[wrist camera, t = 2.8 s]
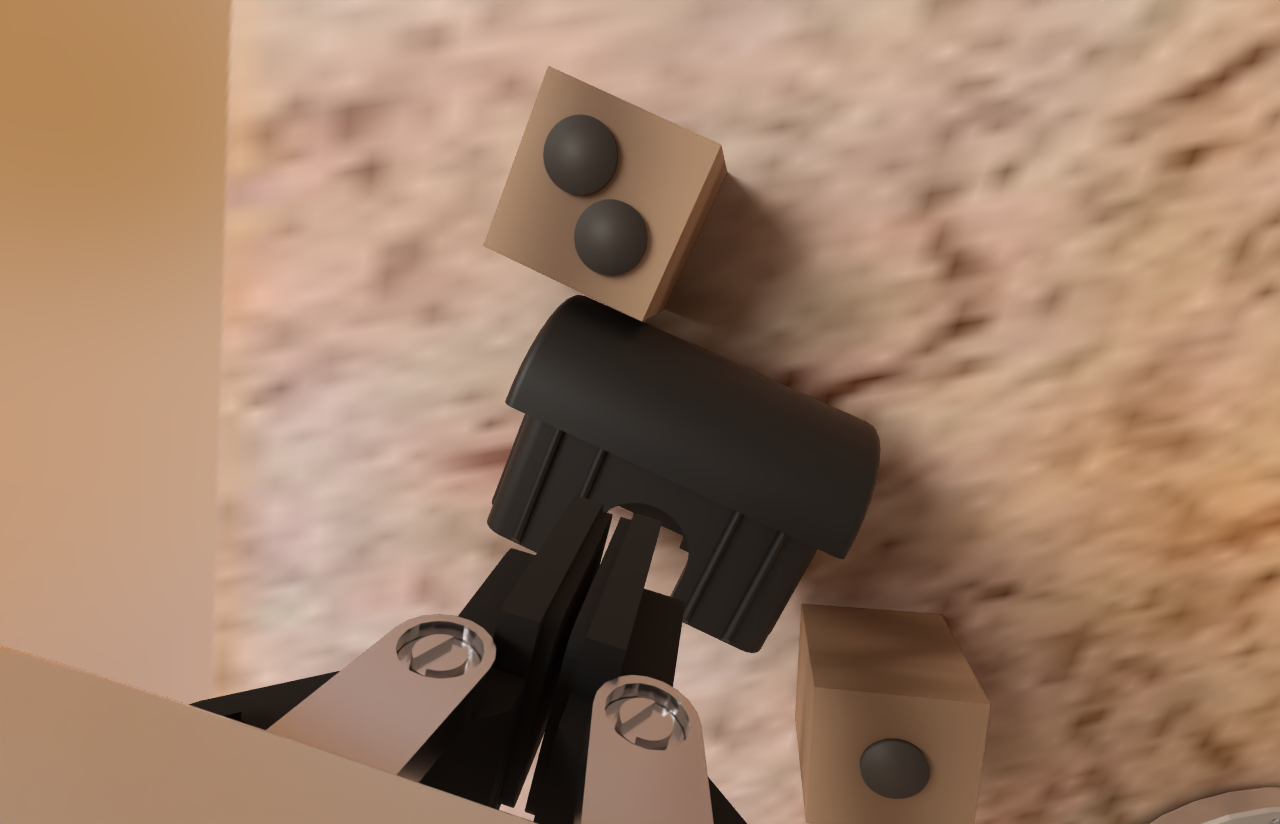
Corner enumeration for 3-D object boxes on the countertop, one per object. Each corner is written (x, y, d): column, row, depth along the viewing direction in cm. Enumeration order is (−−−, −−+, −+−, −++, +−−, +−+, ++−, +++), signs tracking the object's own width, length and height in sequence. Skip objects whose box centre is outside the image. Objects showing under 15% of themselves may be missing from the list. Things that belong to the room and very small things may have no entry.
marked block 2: (940, 613, 23) (993, 708, 18) (927, 730, 24) (973, 849, 19) (801, 602, 24) (815, 691, 19) (795, 715, 25) (806, 827, 20)
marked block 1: (727, 171, 21) (720, 143, 16) (664, 309, 22) (640, 322, 18) (593, 110, 21) (545, 63, 16) (539, 249, 23) (480, 245, 18)
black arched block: (859, 402, 22) (905, 460, 16) (769, 568, 24) (777, 681, 18) (600, 287, 23) (541, 296, 16) (533, 458, 25) (456, 527, 18)
